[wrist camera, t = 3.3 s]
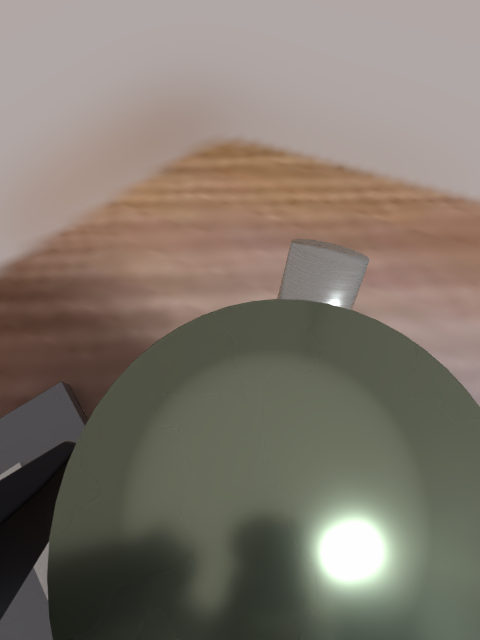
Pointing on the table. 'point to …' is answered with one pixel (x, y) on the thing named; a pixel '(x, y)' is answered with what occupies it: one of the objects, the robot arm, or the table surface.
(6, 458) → the port plate
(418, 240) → the table surface
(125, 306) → the table surface
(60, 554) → the spout can
